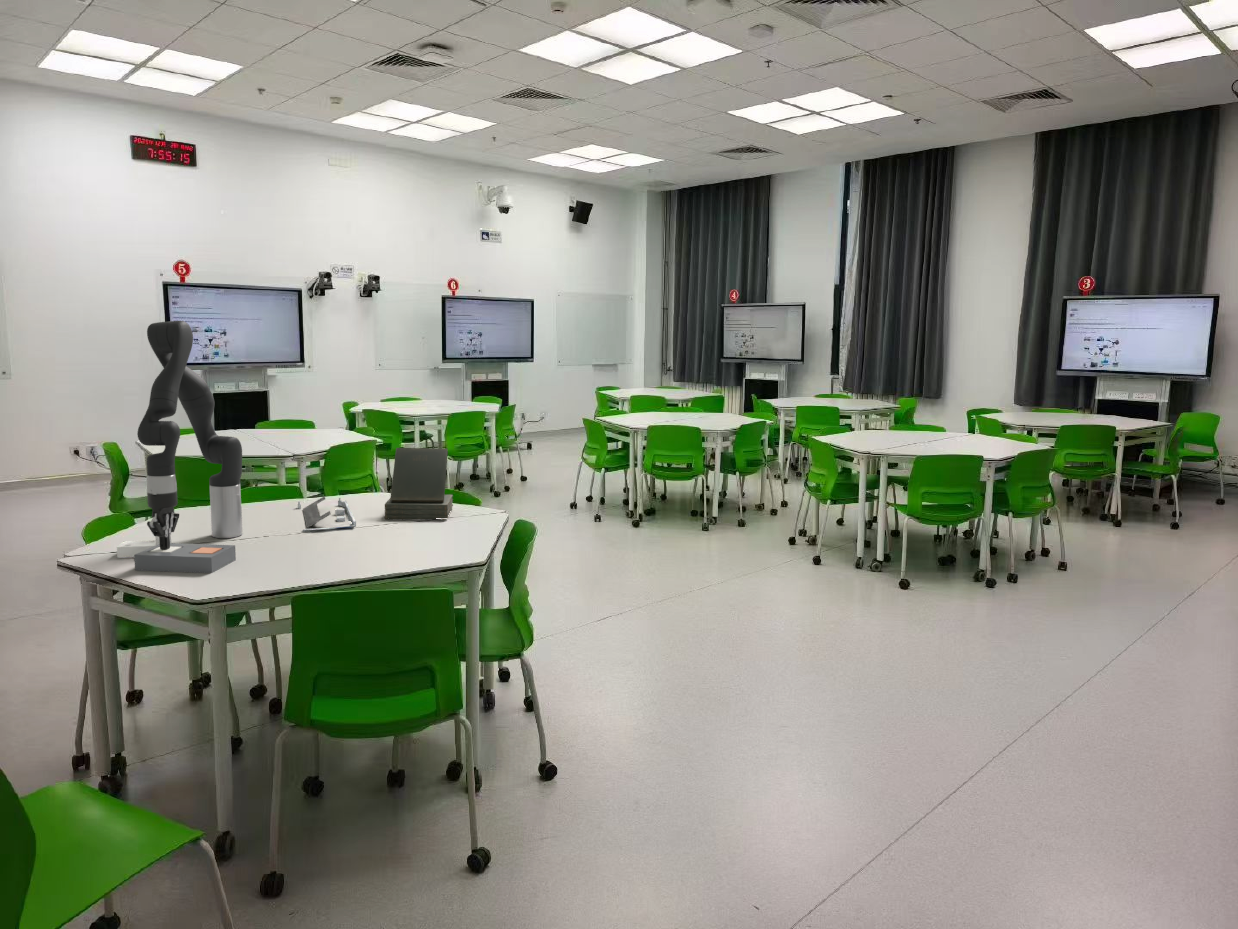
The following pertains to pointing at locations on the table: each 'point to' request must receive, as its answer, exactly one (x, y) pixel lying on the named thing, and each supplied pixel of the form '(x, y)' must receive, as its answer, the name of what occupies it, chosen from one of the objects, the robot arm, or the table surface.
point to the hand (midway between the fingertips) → (165, 549)
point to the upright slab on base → (419, 485)
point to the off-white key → (166, 550)
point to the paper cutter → (326, 514)
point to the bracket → (135, 547)
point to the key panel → (185, 559)
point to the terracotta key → (206, 550)
